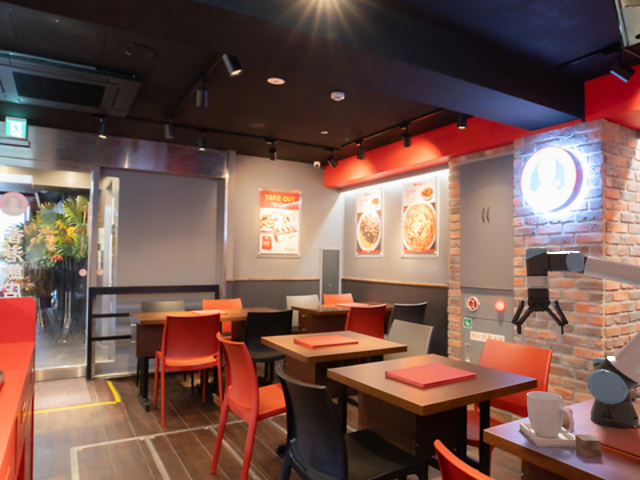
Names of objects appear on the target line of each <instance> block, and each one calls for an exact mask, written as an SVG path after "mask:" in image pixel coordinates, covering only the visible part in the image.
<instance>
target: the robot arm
mask: <svg viewBox="0 0 640 480" xmlns="http://www.w3.org/2000/svg"><path fill="white" fill-rule="evenodd" d="M525 266H526V267H525V268H526V270H525V271H526V286H527V287H528V288H527V289H526V292H527V300H522V299H520V300H518V306H517V308H516V311H515V313H514V315H513V317H512V320H511V324H512V325H515V326H516V333H517V335H519V344H525V327H524V326H523V324H524V323H525V322H526V321H527V319H528V318H529V317H530V316H531V315H532V314H533V313H534V312H535V313H539V312H541V313H545V312H546V314H548V316H549V317H550V318H551V319H552V320H553V321H554V322H555V323H556V325H555V336H556V343H557V344H559V345H560V344H563V341H562V335H564V327H565V326H566V325H569V323H570V322H569V320H568V319H567V317H566V316H565V314H564V311H563V310H562V308H561V307H560V303H559V300H558V299H552V300H550V289H549V286H550V283H549V273H553V272H555V273H557V272H558V273H559V272H561V273H565V272H566V273H569V272H570V273H576V274H579V275H584V276H590V277H594V278H599V279H602V280H606V281H607V280H608V281H611V282H616V283H621V284H625V285H628V286H635V287H638V288H640V265H639V264H638V265H637V264H632V263H626V262H622V261H617V260H611V259H608V258H601V257H596V256H592V255H586V254H584V253H583V252H582V251H579V250H578V251H574V250H570V251H554V252H553V251H551V252H550V251H548V250H547V247H545V246H544V247H543V246H541V247H537V246H536V247H535V246H534V247H529V248H526V250H525ZM526 305H527V306H528V307H527V309H526V311H525V312H524V313H523V311H524V309H525V307H526ZM550 306H552V307H553V308H554V310H555V312H556V314H557V315H558V316H557V315H556V314H555V313H554V312H553V311H552V309H551V308H550ZM522 313H523V314H522ZM521 315H522V316H521ZM592 369H593V370H592V371H591V372H590V374H588V376H587V380H586V384H587V390H588V391H589V393H590V395H591V396H592V397H593V398H594V400H593V404H592V407H591V409H590V419H591V421H593V422H595V423H597V424H600V425H603V426H608V427H612V428H619V427H634V426H638V425H639V426H640V418H639V416H638V412H637V411H636V408H635V406H634V404H633V396H632V390H633V389H634V388H635V387H637V385H638V384H639V383H640V330H639V331H638V332H637V333H635V334H634V336H632V338H631V339H630V340H629V341H628V342H627V343H626V344H625V345H624V346H623V347H622V348H621V349H620V350H619V351H618V352H617V353H616V354H615V355H609V356H606V357H594V358H593V359H592ZM639 426H638V427H639Z"/></svg>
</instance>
